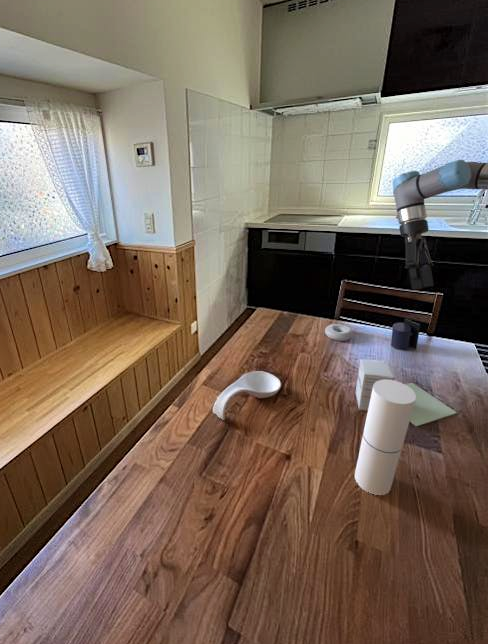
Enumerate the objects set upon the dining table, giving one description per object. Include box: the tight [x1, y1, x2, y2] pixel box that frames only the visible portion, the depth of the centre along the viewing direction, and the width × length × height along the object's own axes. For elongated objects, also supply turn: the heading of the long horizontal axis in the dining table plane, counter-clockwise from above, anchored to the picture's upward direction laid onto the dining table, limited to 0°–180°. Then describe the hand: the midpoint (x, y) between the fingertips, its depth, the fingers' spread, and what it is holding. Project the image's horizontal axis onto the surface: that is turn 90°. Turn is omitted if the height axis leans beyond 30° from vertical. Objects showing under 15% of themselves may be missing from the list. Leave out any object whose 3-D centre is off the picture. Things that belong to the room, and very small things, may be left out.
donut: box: [324, 323, 354, 342], centre depth 131 cm, size 10×4×10 cm
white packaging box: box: [355, 358, 395, 412], centre depth 94 cm, size 7×7×13 cm
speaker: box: [390, 318, 421, 351], centre depth 120 cm, size 8×6×10 cm
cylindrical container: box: [354, 379, 416, 497], centre depth 70 cm, size 7×7×25 cm
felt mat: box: [404, 382, 458, 428], centre depth 96 cm, size 14×14×1 cm
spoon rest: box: [212, 370, 282, 421], centre depth 100 cm, size 24×12×7 cm, turn 127°
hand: (423, 287), depth 107 cm, fingers open, 13 cm apart
